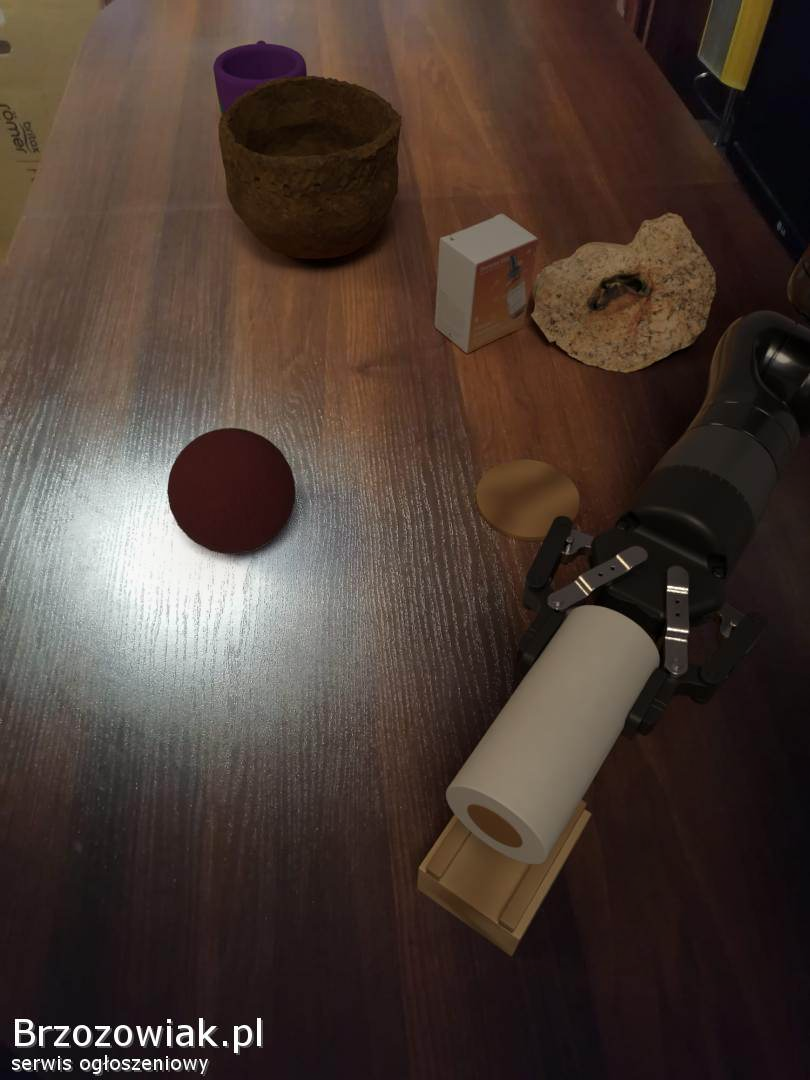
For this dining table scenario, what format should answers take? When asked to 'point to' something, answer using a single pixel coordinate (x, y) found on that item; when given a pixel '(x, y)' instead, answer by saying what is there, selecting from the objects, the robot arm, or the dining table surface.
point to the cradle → (493, 880)
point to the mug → (253, 69)
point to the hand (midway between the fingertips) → (576, 699)
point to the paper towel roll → (554, 734)
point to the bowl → (311, 164)
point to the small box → (484, 282)
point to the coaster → (525, 498)
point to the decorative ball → (231, 490)
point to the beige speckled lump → (627, 297)
